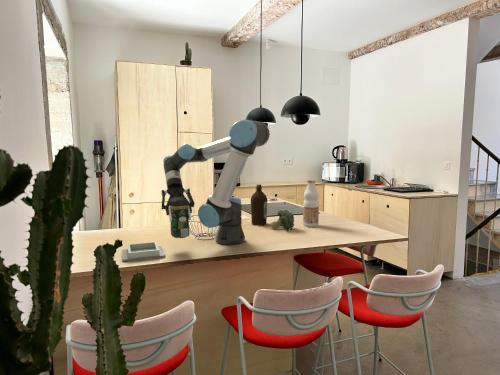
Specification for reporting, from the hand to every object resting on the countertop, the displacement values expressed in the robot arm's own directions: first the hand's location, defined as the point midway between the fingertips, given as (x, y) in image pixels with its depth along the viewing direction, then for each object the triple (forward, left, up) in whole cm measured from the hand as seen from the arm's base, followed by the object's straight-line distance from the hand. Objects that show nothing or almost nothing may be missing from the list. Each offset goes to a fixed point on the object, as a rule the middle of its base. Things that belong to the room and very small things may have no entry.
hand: (180, 219), depth 164 cm
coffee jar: (0, -3, -9) cm, 10 cm away
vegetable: (-64, -25, -16) cm, 70 cm away
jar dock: (+17, -3, -16) cm, 23 cm away
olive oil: (-56, -44, -16) cm, 73 cm away
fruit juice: (-84, -28, -16) cm, 90 cm away
